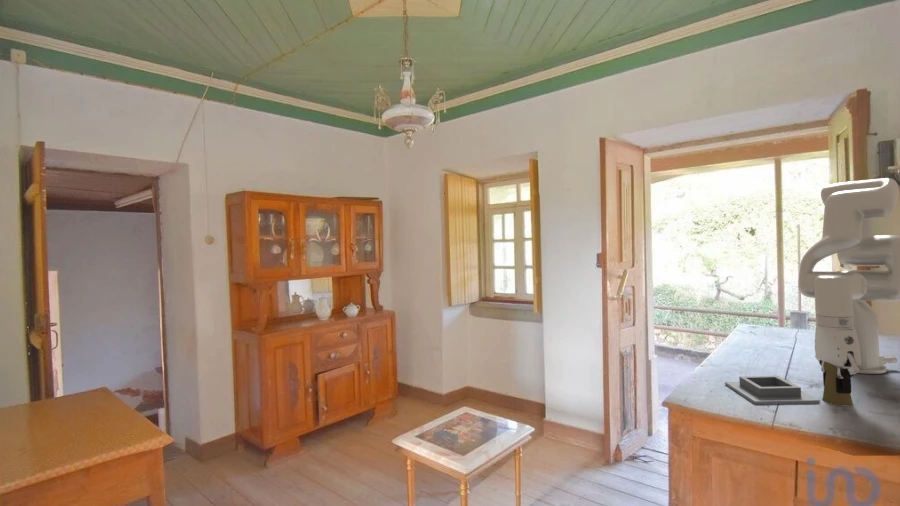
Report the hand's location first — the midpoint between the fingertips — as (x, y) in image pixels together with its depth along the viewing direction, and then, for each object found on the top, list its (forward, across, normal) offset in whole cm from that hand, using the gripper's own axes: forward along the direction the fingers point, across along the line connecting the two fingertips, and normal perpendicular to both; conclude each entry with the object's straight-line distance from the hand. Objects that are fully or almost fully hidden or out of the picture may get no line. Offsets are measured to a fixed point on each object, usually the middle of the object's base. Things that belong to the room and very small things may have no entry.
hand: (837, 389), depth 116 cm
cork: (+3, 0, 0) cm, 3 cm away
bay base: (+3, +7, +13) cm, 15 cm away
